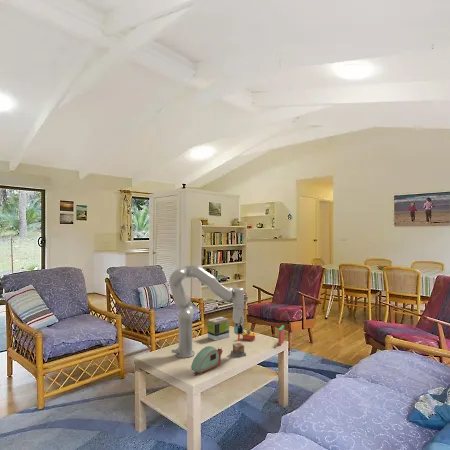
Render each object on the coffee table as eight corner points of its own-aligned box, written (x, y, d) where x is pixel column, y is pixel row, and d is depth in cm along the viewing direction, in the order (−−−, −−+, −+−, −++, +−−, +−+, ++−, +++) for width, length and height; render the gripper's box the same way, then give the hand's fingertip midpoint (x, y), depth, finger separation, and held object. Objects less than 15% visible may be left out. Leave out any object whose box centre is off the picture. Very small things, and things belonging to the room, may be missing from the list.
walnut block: (236, 354, 230) (236, 346, 230) (232, 351, 235) (232, 343, 235) (244, 352, 232) (244, 345, 232) (240, 349, 238) (240, 342, 238)
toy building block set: (280, 347, 249) (280, 328, 249) (236, 341, 263) (236, 323, 263) (284, 342, 261) (284, 323, 261) (241, 336, 274) (241, 319, 274)
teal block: (236, 334, 230) (236, 327, 230) (234, 332, 235) (234, 325, 235) (243, 333, 232) (243, 326, 232) (240, 331, 237) (240, 324, 237)
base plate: (235, 358, 229) (235, 354, 229) (230, 354, 236) (230, 350, 236) (246, 357, 231) (246, 353, 231) (241, 352, 239) (241, 349, 239)
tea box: (221, 333, 281) (221, 316, 281) (229, 337, 273) (229, 318, 273) (207, 337, 271) (207, 319, 271) (214, 341, 263) (214, 322, 263)
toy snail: (197, 378, 199) (197, 354, 199) (189, 374, 204) (189, 351, 204) (226, 365, 218) (226, 343, 218) (217, 362, 223) (217, 341, 223)
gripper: (229, 303, 240) (229, 329, 240) (237, 309, 224) (238, 336, 224) (238, 303, 243) (239, 328, 243) (248, 308, 227) (248, 335, 227)
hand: (238, 332), depth 234 cm, fingers closed on teal block, 5 cm apart
